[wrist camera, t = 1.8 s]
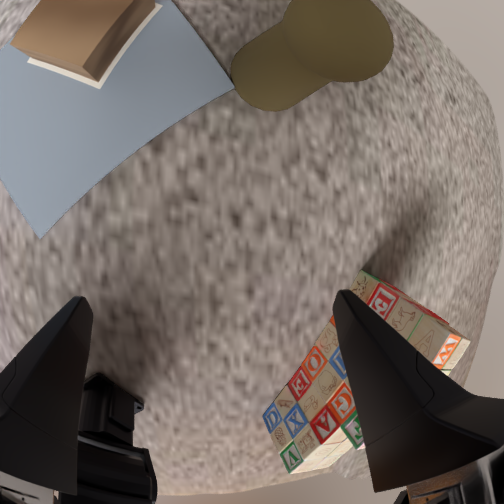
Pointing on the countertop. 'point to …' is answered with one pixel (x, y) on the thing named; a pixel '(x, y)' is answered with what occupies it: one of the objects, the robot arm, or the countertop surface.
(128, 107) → the mat
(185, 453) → the countertop surface
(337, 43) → the olive pawn
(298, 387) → the stack of blocks
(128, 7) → the walnut block
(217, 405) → the countertop surface
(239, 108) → the countertop surface
